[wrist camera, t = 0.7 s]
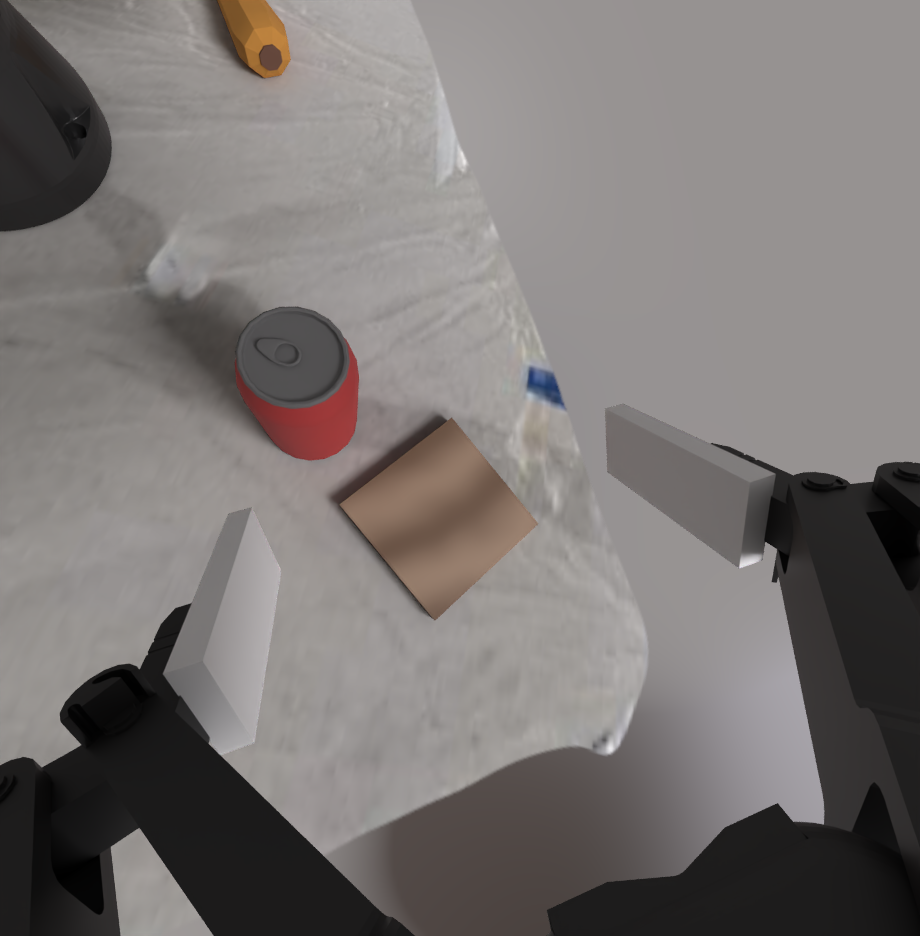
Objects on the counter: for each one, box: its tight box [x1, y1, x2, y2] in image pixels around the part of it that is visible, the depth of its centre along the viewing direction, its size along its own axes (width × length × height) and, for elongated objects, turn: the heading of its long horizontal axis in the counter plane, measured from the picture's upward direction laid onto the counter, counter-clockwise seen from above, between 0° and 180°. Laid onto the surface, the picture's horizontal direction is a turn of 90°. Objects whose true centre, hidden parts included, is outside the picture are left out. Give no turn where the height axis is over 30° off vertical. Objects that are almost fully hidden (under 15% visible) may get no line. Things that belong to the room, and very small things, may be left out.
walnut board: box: [340, 418, 538, 620], centre depth 35 cm, size 11×11×1 cm
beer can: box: [235, 307, 359, 460], centre depth 29 cm, size 7×7×12 cm
